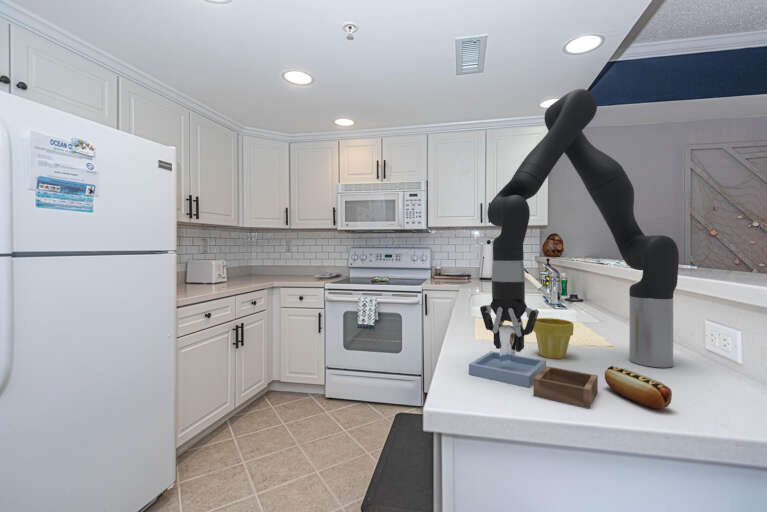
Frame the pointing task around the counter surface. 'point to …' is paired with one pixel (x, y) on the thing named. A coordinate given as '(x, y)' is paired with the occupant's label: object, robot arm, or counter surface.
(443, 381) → the counter surface
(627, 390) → the hot dog
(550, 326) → the plant pot
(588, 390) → the holder
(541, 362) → the tray
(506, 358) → the milkshake
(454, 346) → the counter surface
